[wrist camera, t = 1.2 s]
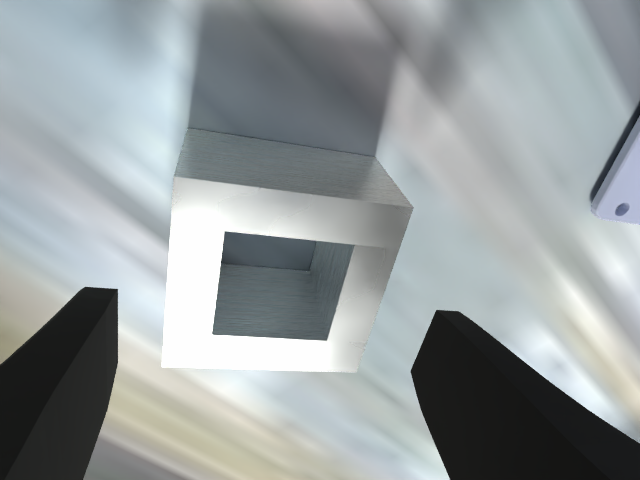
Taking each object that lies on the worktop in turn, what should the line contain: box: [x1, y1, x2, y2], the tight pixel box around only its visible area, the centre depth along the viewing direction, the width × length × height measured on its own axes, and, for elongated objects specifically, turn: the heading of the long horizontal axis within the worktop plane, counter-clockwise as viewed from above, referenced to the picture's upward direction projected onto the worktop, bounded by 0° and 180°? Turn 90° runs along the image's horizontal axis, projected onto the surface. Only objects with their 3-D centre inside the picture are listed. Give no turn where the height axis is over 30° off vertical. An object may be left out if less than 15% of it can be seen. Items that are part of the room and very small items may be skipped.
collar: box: [162, 128, 414, 372], centre depth 13 cm, size 6×6×4 cm
